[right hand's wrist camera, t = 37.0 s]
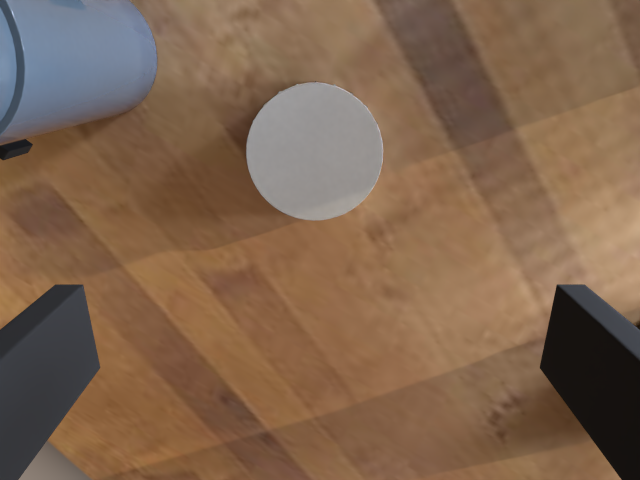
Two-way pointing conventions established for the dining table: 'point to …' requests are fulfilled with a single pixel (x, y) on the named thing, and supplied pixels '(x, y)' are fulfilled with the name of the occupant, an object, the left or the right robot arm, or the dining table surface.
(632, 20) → the dining table surface
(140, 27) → the jar
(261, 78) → the dining table surface
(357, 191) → the lid
